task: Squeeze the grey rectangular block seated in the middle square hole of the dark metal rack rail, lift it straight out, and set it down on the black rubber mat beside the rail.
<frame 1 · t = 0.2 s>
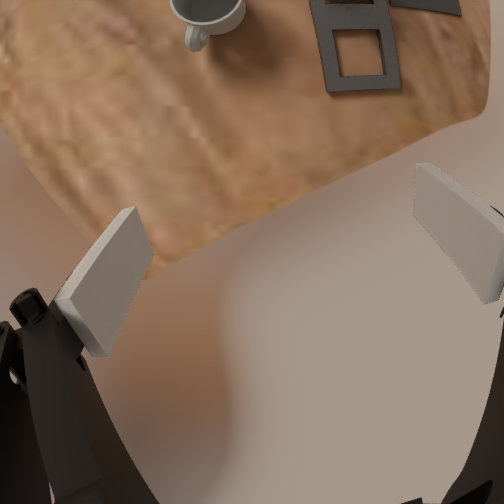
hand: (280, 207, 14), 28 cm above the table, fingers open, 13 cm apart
cup: (213, 19, 30), on the table
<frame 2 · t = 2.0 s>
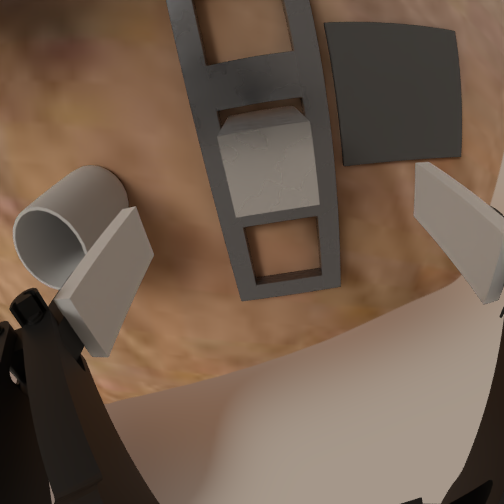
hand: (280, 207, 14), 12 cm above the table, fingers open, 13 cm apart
grey rectangular block: (268, 152, 20), in the rack rail
rack rail: (266, 140, 23), on the table
cup: (95, 211, 27), on the table
rubber mat: (403, 91, 21), on the table
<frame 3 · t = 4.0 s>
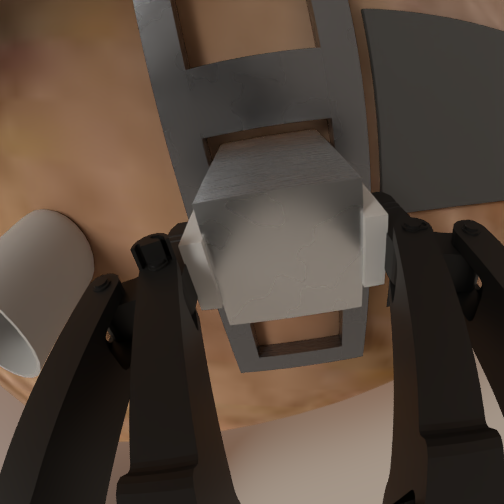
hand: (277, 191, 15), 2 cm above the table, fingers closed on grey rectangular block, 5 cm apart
grey rectangular block: (280, 209, 13), in the rack rail, touching gripper
rack rail: (275, 179, 17), on the table
cup: (57, 263, 20), on the table
rubber mat: (462, 113, 14), on the table
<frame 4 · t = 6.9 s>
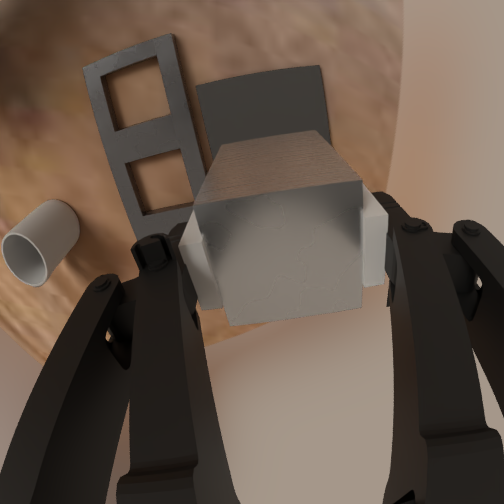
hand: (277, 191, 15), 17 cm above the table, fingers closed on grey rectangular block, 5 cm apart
grey rectangular block: (280, 210, 13), point 19 cm above the table, touching gripper
rack rail: (162, 180, 32), on the table
cup: (60, 230, 36), on the table
rubber mat: (268, 130, 29), on the table
when the fingers open (4 cm above the table, at t = 9.9 s): grey rectangular block drops 1 cm, resting on rubber mat.
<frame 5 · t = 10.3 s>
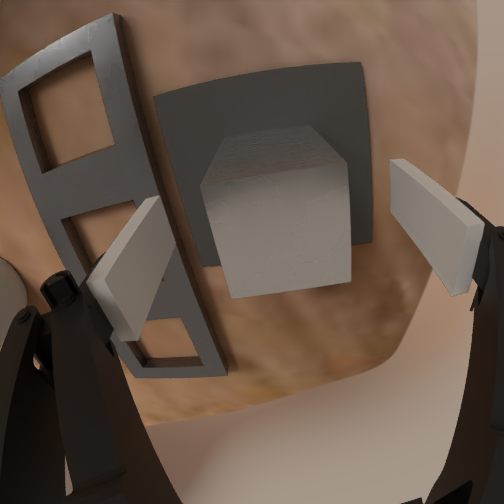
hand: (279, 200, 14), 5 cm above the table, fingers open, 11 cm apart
grey rectangular block: (277, 196, 15), on the rubber mat
rack rail: (116, 241, 21), on the table
cup: (7, 290, 25), on the table
rubber mat: (274, 168, 18), on the table
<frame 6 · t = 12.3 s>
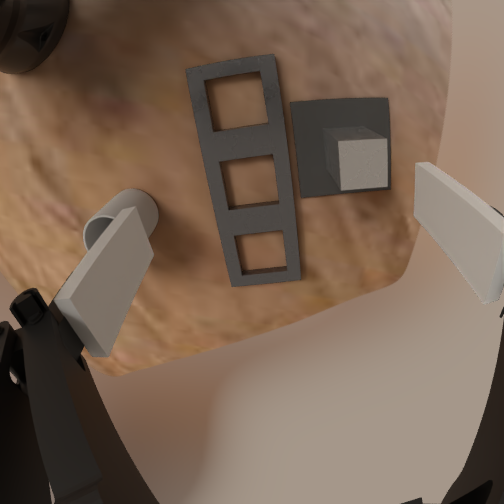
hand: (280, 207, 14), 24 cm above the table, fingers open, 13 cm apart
grey rectangular block: (353, 154, 31), on the rubber mat
rack rail: (250, 179, 38), on the table
cup: (134, 219, 41), on the table
rubber mat: (344, 146, 35), on the table
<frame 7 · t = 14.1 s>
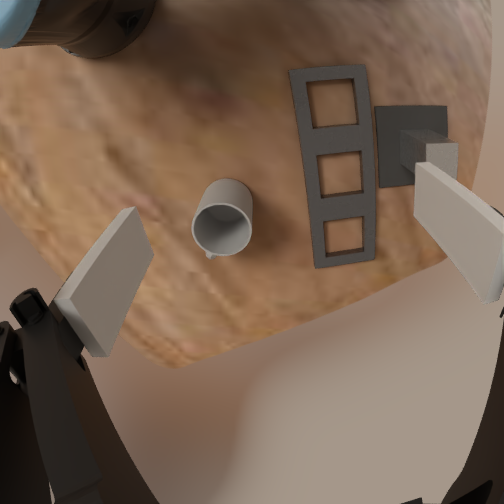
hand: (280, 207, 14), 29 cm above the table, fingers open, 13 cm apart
grey rectangular block: (427, 153, 35), on the rubber mat
rack rail: (339, 172, 41), on the table
cup: (224, 208, 45), on the table
rubber mat: (413, 145, 39), on the table
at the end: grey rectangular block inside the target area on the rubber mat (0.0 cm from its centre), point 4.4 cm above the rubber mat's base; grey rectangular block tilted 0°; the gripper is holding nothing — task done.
